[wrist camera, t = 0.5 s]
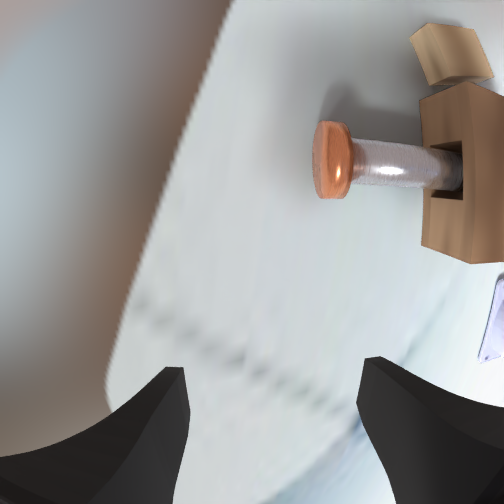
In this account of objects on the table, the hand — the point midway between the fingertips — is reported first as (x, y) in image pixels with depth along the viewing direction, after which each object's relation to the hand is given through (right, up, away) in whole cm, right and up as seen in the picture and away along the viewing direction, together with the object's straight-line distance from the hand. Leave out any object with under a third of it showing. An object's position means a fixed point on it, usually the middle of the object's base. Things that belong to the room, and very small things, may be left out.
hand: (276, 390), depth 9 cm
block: (+13, +19, +6) cm, 24 cm away
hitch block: (+14, +10, +8) cm, 19 cm away
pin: (+9, +10, +7) cm, 15 cm away
